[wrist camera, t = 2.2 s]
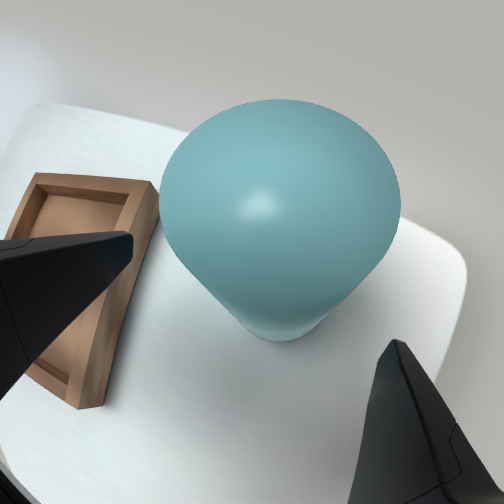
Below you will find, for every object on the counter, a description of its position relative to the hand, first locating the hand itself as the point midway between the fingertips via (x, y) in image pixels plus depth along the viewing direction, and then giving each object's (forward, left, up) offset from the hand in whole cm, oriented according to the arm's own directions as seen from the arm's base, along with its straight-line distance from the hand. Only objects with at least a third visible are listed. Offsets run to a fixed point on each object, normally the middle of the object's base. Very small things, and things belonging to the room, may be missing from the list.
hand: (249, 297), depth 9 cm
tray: (-1, +17, -10) cm, 19 cm away
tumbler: (+2, 0, -10) cm, 10 cm away
